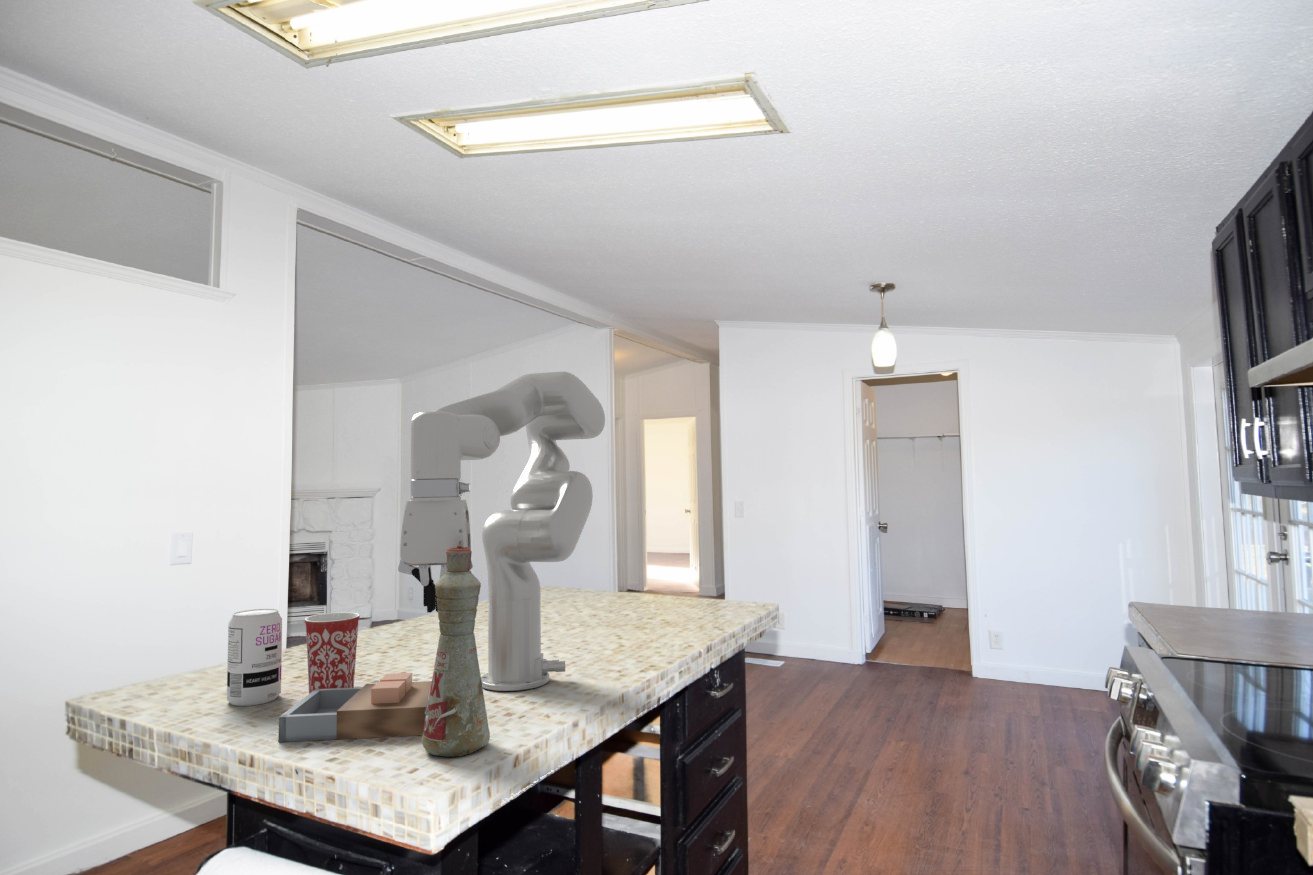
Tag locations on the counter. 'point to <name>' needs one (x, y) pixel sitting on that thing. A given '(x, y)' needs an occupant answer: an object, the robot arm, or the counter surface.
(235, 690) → the supplement can
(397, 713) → the brown square platform
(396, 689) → the tile
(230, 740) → the counter surface
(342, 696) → the box
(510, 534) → the robot arm
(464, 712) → the bottle
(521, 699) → the counter surface
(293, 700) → the counter surface
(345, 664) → the mug
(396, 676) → the tile
